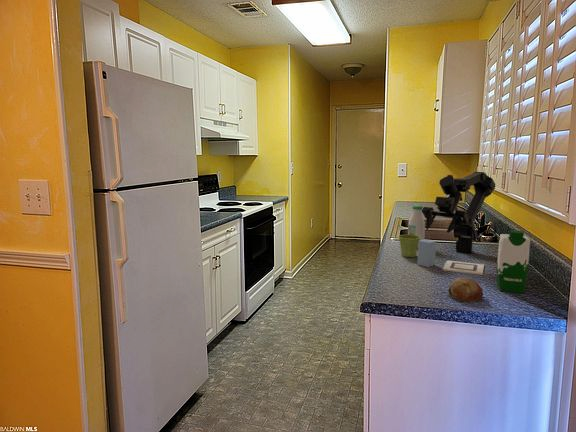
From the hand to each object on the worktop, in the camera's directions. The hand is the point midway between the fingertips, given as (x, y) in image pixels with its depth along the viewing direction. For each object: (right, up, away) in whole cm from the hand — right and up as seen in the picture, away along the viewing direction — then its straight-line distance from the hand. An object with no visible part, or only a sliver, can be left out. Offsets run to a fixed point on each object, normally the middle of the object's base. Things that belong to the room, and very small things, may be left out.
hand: (436, 230), depth 171 cm
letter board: (+8, -15, -8) cm, 18 cm away
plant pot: (-8, -12, +12) cm, 19 cm away
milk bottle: (0, -9, +30) cm, 31 cm away
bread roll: (-5, -20, -40) cm, 45 cm away
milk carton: (+13, -19, -32) cm, 40 cm away
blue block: (-5, -14, -3) cm, 15 cm away
